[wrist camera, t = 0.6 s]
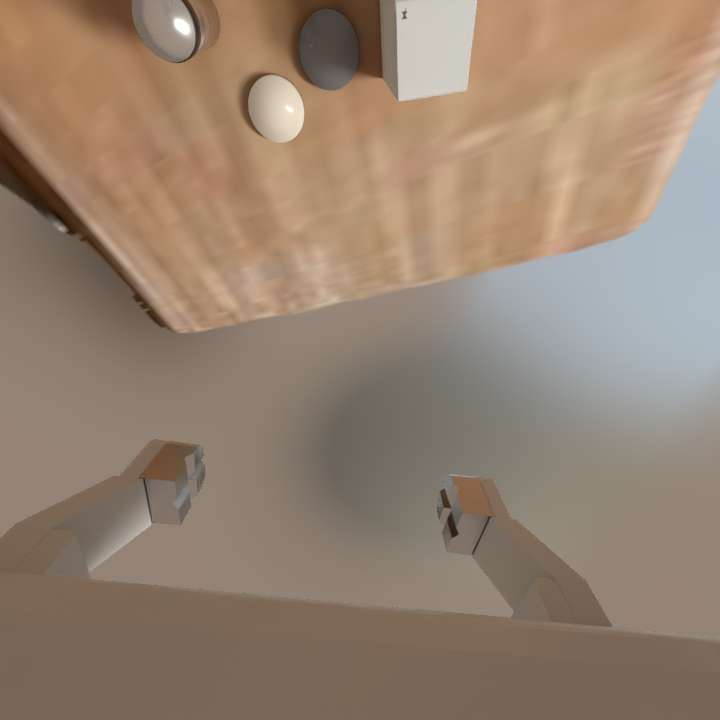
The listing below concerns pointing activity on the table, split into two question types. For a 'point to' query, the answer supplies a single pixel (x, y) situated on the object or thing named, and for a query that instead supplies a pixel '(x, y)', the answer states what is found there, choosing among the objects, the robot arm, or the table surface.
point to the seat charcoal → (328, 49)
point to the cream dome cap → (276, 108)
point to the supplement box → (426, 46)
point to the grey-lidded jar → (176, 27)
